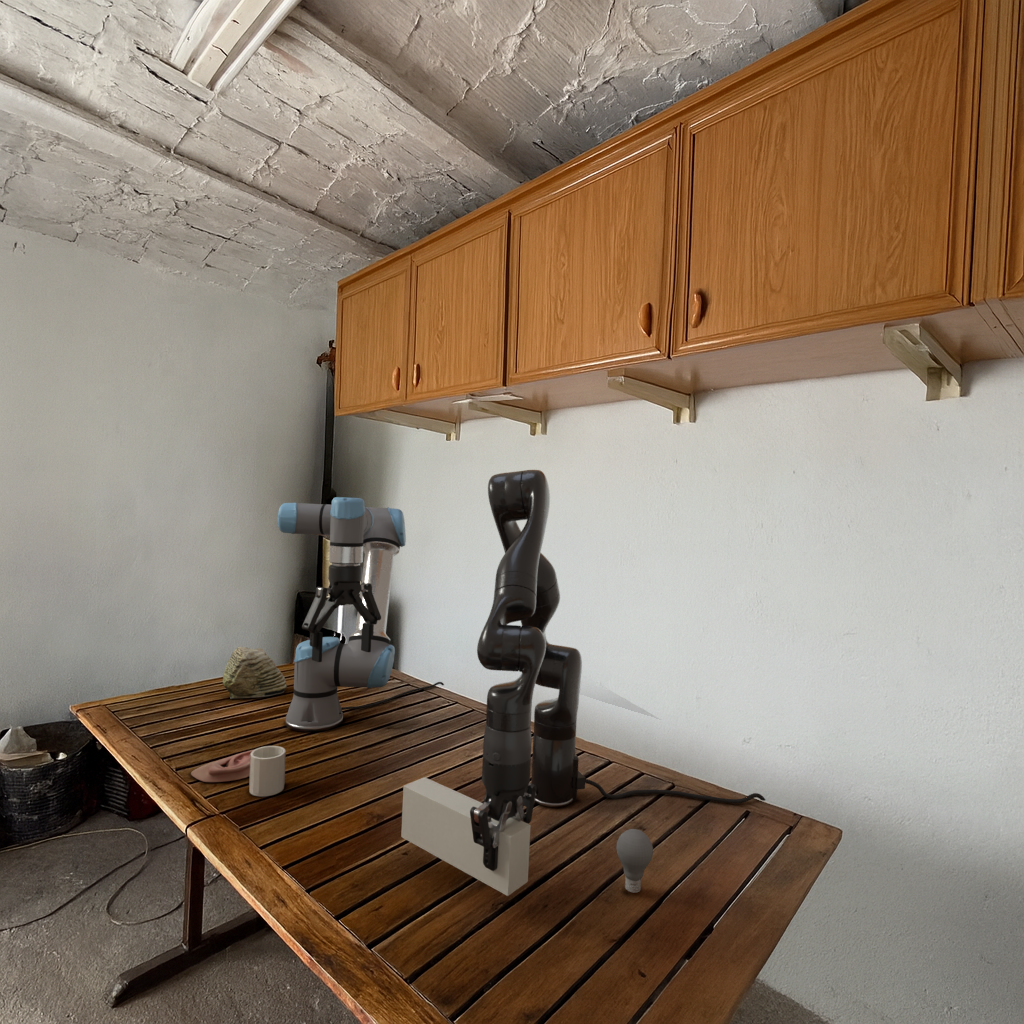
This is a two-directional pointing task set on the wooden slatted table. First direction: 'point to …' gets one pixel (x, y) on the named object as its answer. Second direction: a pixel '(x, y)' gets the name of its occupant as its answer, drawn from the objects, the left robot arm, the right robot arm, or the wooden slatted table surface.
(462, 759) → the wooden slatted table surface
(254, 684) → the fossil
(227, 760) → the anatomical model
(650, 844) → the light bulb
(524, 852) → the grey bar
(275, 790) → the white cup
